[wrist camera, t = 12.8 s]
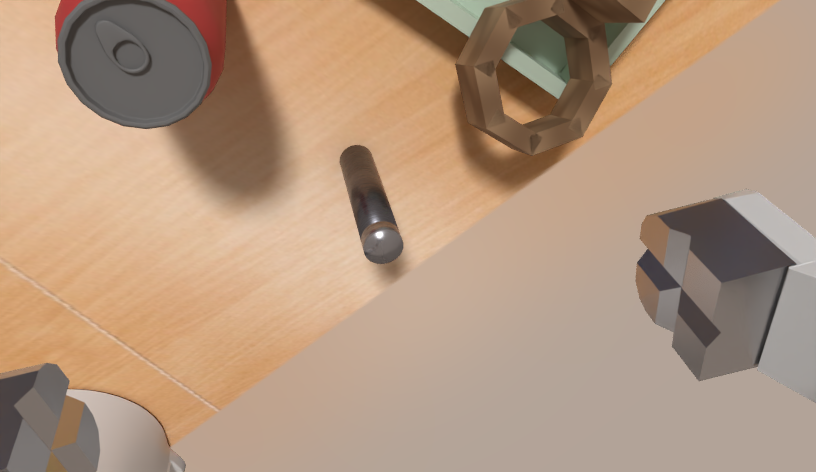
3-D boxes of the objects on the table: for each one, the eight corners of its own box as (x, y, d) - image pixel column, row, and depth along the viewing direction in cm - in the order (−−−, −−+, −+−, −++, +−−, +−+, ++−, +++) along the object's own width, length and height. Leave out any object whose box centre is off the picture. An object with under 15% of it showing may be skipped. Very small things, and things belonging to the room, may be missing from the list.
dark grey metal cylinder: (360, 178, 44) (388, 268, 36) (333, 165, 43) (356, 255, 35) (378, 154, 43) (411, 240, 35) (351, 139, 42) (378, 225, 34)
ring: (434, 103, 37) (482, 116, 31) (549, -116, 35) (619, -140, 30) (540, 165, 40) (599, 187, 35) (647, -29, 39) (726, -38, 34)
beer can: (167, -114, 32) (140, -63, 22) (252, 0, 36) (259, 84, 26) (66, -37, 33) (-2, 42, 23) (159, 65, 37) (133, 169, 27)
